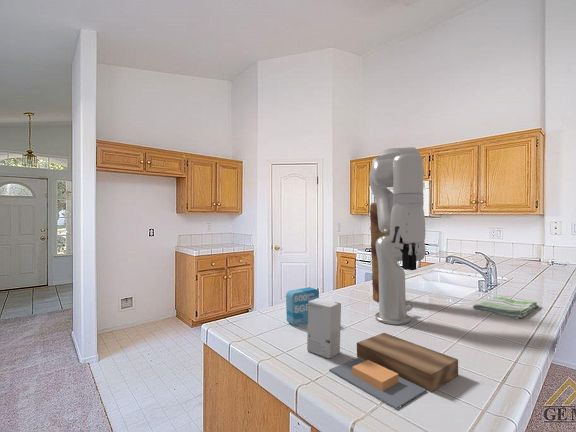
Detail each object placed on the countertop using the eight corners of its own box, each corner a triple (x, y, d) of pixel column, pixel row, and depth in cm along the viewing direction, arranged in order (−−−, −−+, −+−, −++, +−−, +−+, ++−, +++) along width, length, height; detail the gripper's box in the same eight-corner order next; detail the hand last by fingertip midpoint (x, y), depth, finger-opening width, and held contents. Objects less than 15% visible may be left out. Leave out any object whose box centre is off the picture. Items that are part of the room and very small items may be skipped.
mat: (358, 358, 87) (358, 357, 87) (426, 391, 70) (426, 389, 70) (329, 370, 80) (329, 369, 80) (396, 409, 64) (396, 407, 64)
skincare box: (306, 351, 92) (305, 301, 92) (318, 344, 96) (317, 296, 96) (331, 359, 86) (330, 306, 86) (342, 352, 91) (341, 301, 91)
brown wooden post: (375, 295, 152) (374, 203, 152) (397, 298, 146) (396, 202, 145) (367, 300, 144) (365, 202, 143) (390, 304, 137) (389, 201, 137)
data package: (292, 326, 112) (292, 293, 112) (286, 323, 116) (285, 291, 116) (319, 320, 119) (319, 288, 118) (312, 317, 122) (312, 286, 122)
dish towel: (471, 310, 128) (471, 301, 128) (492, 300, 143) (492, 292, 143) (521, 321, 115) (521, 311, 115) (539, 308, 129) (539, 300, 129)
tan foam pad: (368, 359, 81) (368, 367, 81) (352, 366, 77) (352, 374, 77) (398, 373, 74) (398, 382, 74) (382, 382, 70) (382, 391, 70)
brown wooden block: (384, 345, 95) (383, 332, 95) (458, 375, 77) (458, 359, 77) (356, 356, 88) (356, 342, 88) (431, 392, 70) (431, 374, 70)
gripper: (411, 201, 91) (412, 264, 91) (378, 201, 83) (380, 270, 83) (436, 200, 85) (437, 268, 85) (403, 200, 76) (405, 275, 77)
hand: (409, 269), depth 84 cm, fingers closed
